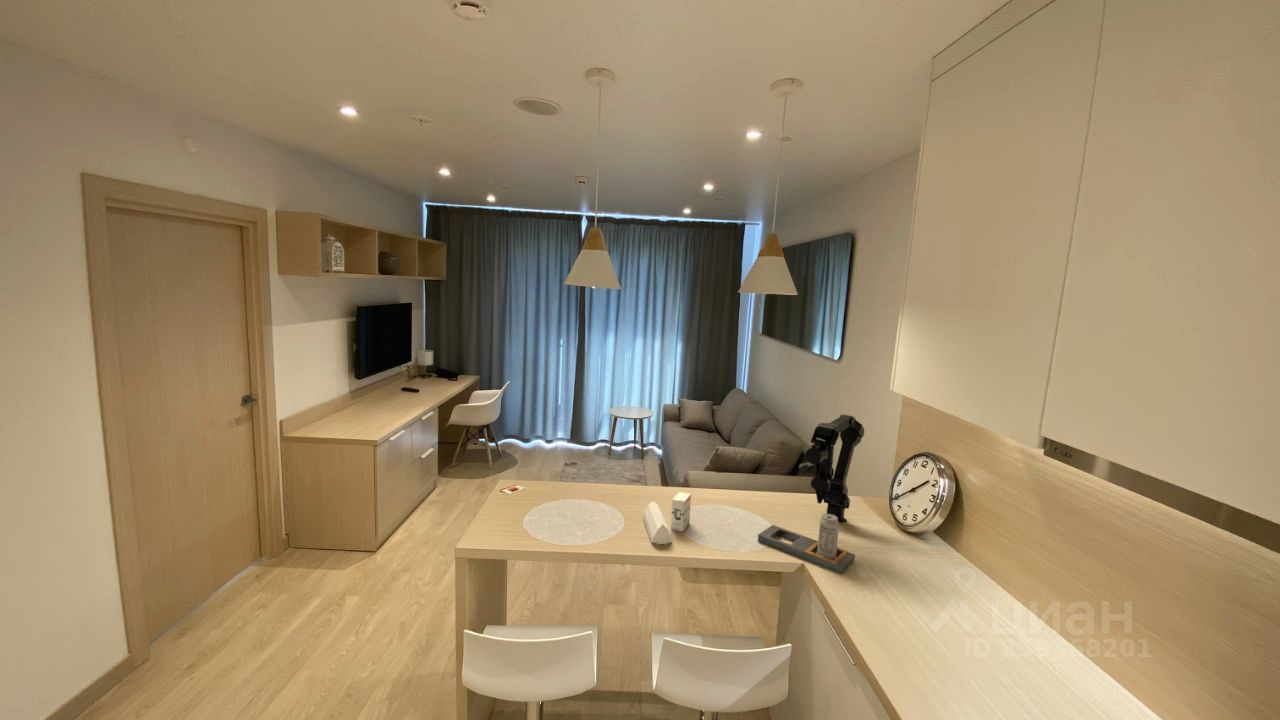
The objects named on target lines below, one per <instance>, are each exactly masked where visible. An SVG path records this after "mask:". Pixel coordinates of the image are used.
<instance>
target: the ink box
mask: <svg viewBox="0 0 1280 720" xmlns="http://www.w3.org/2000/svg"><path fill="white" fill-rule="evenodd" d="M691 497H692V493H689V492H682V491H679V492H678V493H677V494H676V495H675V496H674V497H673V498H672V499H671V514H670V515H671V516H670V530H673V531H678V532H681V531H683V532H684V531H685V530H686V528H687V527H688V525H689V524H690V517H691V500H692V498H691Z"/></svg>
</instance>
